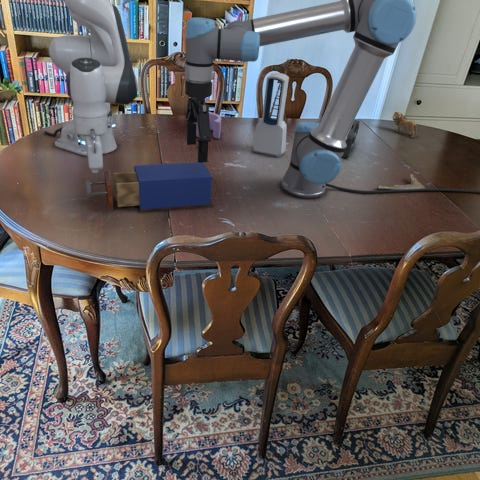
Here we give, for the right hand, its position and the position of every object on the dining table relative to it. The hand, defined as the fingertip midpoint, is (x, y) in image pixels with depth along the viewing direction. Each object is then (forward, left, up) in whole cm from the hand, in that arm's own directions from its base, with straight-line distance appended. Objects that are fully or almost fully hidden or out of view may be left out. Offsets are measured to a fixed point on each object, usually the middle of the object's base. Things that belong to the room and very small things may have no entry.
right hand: (196, 152), depth 140 cm
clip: (-21, -59, -16) cm, 64 cm away
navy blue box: (+7, 0, -16) cm, 17 cm away
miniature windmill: (-56, -60, -16) cm, 83 cm away
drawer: (+19, -1, -15) cm, 24 cm away
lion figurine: (-116, -45, -16) cm, 125 cm away
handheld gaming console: (-76, -30, -16) cm, 83 cm away
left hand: (+30, -1, -4) cm, 30 cm away
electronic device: (-40, -32, -16) cm, 53 cm away
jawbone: (-76, +3, -16) cm, 78 cm away
